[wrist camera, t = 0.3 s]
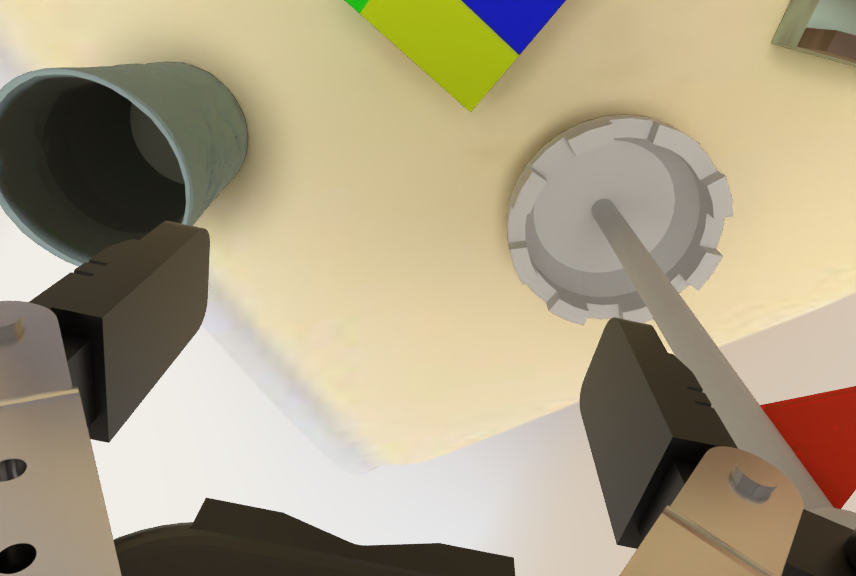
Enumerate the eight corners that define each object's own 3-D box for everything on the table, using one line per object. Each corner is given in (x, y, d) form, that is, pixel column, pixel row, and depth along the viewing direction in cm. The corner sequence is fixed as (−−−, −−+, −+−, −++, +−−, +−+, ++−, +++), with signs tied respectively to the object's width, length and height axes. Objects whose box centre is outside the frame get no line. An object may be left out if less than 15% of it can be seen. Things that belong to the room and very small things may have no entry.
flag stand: (583, 323, 44) (768, 832, 17) (464, 201, 40) (462, 605, 14) (739, 208, 40) (1321, 654, 13) (621, 60, 36) (1087, 244, 9)
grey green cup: (91, 56, 38) (-59, 79, 27) (244, 40, 37) (153, 57, 26) (140, 208, 42) (29, 280, 31) (278, 197, 41) (212, 267, 30)
